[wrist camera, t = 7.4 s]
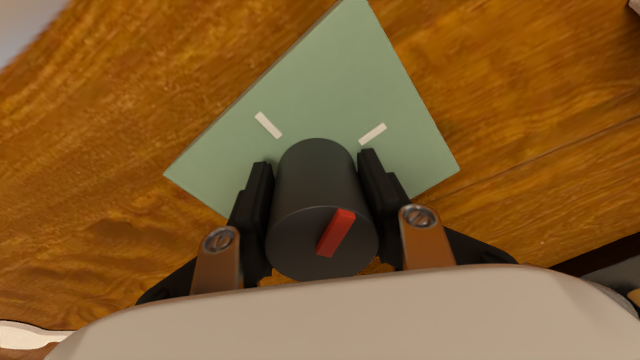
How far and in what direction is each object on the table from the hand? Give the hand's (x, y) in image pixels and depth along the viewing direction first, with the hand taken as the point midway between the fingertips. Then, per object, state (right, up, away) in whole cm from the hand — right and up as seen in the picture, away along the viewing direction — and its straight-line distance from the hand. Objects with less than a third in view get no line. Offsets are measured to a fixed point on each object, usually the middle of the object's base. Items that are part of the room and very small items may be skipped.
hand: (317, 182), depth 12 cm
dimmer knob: (0, 0, +1) cm, 1 cm away
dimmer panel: (0, +2, +3) cm, 4 cm away
